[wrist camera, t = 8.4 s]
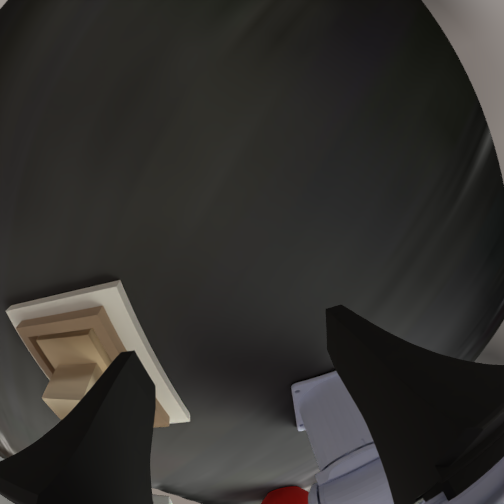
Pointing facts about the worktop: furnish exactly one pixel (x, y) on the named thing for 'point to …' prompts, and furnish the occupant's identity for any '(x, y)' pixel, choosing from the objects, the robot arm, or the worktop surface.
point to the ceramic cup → (287, 496)
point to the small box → (161, 499)
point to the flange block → (72, 367)
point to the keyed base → (98, 335)
